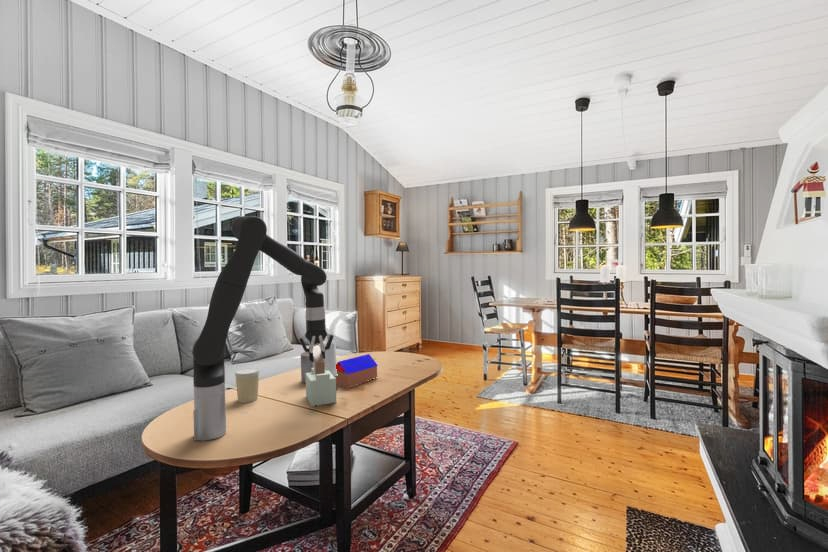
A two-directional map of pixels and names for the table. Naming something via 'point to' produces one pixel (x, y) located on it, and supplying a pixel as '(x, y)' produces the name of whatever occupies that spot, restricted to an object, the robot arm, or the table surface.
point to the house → (355, 370)
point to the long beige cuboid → (318, 361)
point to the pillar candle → (305, 366)
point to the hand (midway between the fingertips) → (317, 360)
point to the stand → (320, 388)
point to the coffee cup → (247, 384)
